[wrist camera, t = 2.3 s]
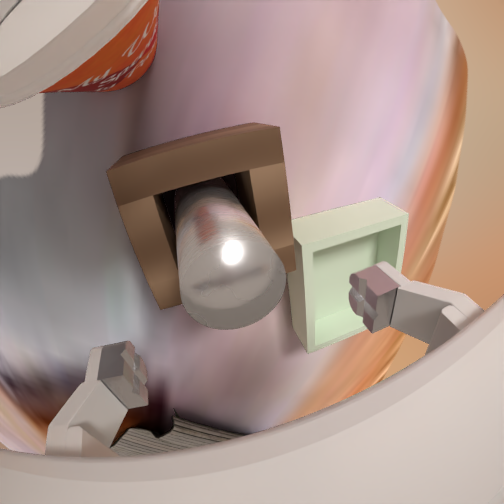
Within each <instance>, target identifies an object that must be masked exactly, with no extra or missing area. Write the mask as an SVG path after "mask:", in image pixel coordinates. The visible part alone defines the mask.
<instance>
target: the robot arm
mask: <svg viewBox="0 0 504 504" xmlns="http://www.w3.org/2000/svg"><path fill="white" fill-rule="evenodd" d="M349 283H350V284H351V285H352V288H351V289H350V291H349V303H350V306H351V308H352V310H353V312H354V313H355V314H356V315H358V316H361V317H363V324H364V325H365V326H366V327H367V328H368V330H369V331H370V332H371V333H374V332H377V331H379V330H381V329H383V328H385V327H388V326H390V327H392V328H395V329H397V330H399V331H401V332H403V333H406V334H408V335H410V336H412V337H414V338H417V339H419V340H421V341H423V342H425V343H428V344H429V346H428V348H427V351H426V353H425V356H423V357H422V358H420V359H418V360H417V361H415V362H414V363H412V364H410V365H409V366H407V367H406V368H404V369H402V370H400V371H399V372H397V373H395V374H393V375H392V376H390V377H388V378H386V379H385V380H383V381H381V382H379V383H377V384H375V385H373V386H371V387H369V388H367V389H365V390H363V391H361V392H359V393H357V394H355V395H353V396H351V397H349V398H347V399H344V400H342V401H340V402H338V403H335V404H333V405H331V406H329V407H326V408H324V409H321V410H319V411H317V412H314V413H312V414H309V415H306V416H304V417H301V418H298V419H296V420H293V421H290V422H287V423H284V424H282V425H279V426H276V427H273V428H269V429H266V430H263V431H260V432H256V433H253V434H249V435H246V436H242V437H238V438H235V439H231V440H227V441H222V442H218V443H214V444H209V445H204V446H199V447H194V448H188V449H183V450H176V451H170V452H162V453H154V454H145V455H134V456H120V455H118V454H117V453H115V452H114V451H112V450H111V449H109V448H110V446H111V444H112V442H113V440H114V438H115V435H116V433H117V431H118V429H119V427H120V425H121V423H122V421H123V419H124V417H125V415H126V413H127V411H128V409H130V408H135V407H141V406H146V405H148V390H147V388H146V387H145V386H144V385H145V383H146V382H147V380H148V378H147V370H146V366H145V364H144V361H143V360H142V358H141V357H140V356H139V355H137V354H135V347H134V346H133V345H132V343H131V342H130V341H124V342H119V343H114V344H109V345H104V346H100V347H94V348H92V349H91V351H90V356H89V361H88V366H87V371H86V377H85V382H84V383H81V384H80V385H79V387H78V388H77V389H76V390H75V392H74V393H73V394H72V396H71V397H70V398H69V399H68V401H67V402H66V403H65V405H64V406H63V407H62V409H61V410H60V411H59V413H58V414H57V415H56V417H55V418H54V419H53V421H52V422H51V423H50V425H49V426H48V433H47V441H46V449H45V455H40V454H32V453H24V452H18V451H12V450H7V449H1V448H0V504H504V294H503V295H502V296H501V297H500V298H499V299H498V300H497V301H496V302H495V303H493V304H492V305H491V306H490V307H489V308H488V309H487V310H485V311H484V310H483V309H482V308H481V307H480V306H478V305H477V304H476V303H475V302H474V301H473V300H471V299H470V298H469V297H468V296H467V295H466V294H464V293H460V292H456V291H452V290H448V289H444V288H441V287H437V286H433V285H429V284H425V283H421V282H418V281H409V280H408V279H407V278H406V277H405V276H403V275H402V274H401V273H400V272H399V271H397V270H396V269H395V268H394V267H392V266H391V265H390V264H389V263H387V262H385V261H382V262H379V263H377V264H374V265H373V266H370V267H367V268H365V269H362V270H360V271H357V272H354V273H352V274H351V275H350V277H349Z"/></svg>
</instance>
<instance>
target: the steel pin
mask: <svg viewBox="0 0 504 504" xmlns="http://www.w3.org/2000/svg"><path fill="white" fill-rule="evenodd" d="M174 201H175V226H176V245H177V260H178V273H179V285H180V295H181V300H182V304H183V306H184V308H185V310H186V311H187V313H188V314H189V315H190V316H191V317H192V318H193V319H194V320H196V321H197V322H199V323H200V324H202V325H205V326H207V327H210V328H215V329H224V330H228V329H237V328H242V327H245V326H248V325H251V324H253V323H255V322H257V321H259V320H260V319H262V318H263V317H265V316H266V315H267V314H269V313H270V312H271V311H272V310H273V309H274V308H275V306H276V305H277V304H278V302H279V301H280V299H281V297H282V295H283V293H284V289H285V286H286V272H285V268H284V265H283V263H282V261H281V260H280V258H279V257H278V255H277V254H276V252H275V251H274V250H273V248H272V247H271V245H270V244H269V242H268V241H267V240H266V238H265V237H264V235H263V234H262V233H261V231H260V230H259V228H258V227H257V226H256V224H255V223H254V221H253V220H252V219H251V217H250V216H249V214H248V213H247V212H246V210H245V209H244V207H243V206H242V205H241V203H240V202H239V200H238V199H237V198H236V196H235V195H234V194H233V192H232V191H231V189H230V188H229V187H228V185H227V184H226V183H225V181H224V180H223V179H222V178H221V177H217V178H213V179H209V180H205V181H202V182H198V183H194V184H190V185H187V186H183V187H180V188H177V189H176V192H175V199H174Z"/></svg>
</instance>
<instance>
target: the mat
mask: <svg viewBox="0 0 504 504" xmlns="http://www.w3.org/2000/svg"><path fill="white" fill-rule="evenodd" d="M173 409H174V408H173ZM174 411H175V409H174ZM175 414H176V416H172V421H173V426H172V428H171V430H170V431H168V432H166V433H165V434H161V433H158V432H155V431H151V430H146V429H142V428H138V427H136V428H130V429H127V430H126V431H125V433H124V434H123V435H122V436H121V437H120V438H119V439H118V440H117V441H116V442H115V443H114V444H113V445H111V446H110V448H109V449H111V450H112V451H114V452H115V453H117V454H118V455H120V456H134V455H145V454H154V453H162V452H170V451H176V450H183V449H188V448H194V447H199V446H204V445H209V444H214V443H218V442H222V441H227V440H231V439H235V438H238V437H242V436H246V435H243V434H237V433H233V432H228V431H224V430H220V429H216V428H213V427H210V426H206V425H202V424H198V423H195V422H191V421H188V420H186V419H183V418H180V417H179V416H178V414H177V413H176V411H175Z"/></svg>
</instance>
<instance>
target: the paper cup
mask: <svg viewBox="0 0 504 504" xmlns="http://www.w3.org/2000/svg"><path fill="white" fill-rule="evenodd" d="M158 13H159V0H0V108H3V107H6V106H10V105H14V104H16V103H19V102H21V101H23V100H25V99H28V98H30V97H32V96H34V95H36V94H38V93H49V92H106V91H114V90H119V89H122V88H125V87H127V86H129V85H131V84H132V83H134V82H135V81H137V80H138V79H139V78H140V77H141V76H143V74H144V73H145V72H146V71H147V70H148V68H149V67H150V65H151V63H152V61H153V59H154V57H155V53H156V48H157V34H158Z"/></svg>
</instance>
